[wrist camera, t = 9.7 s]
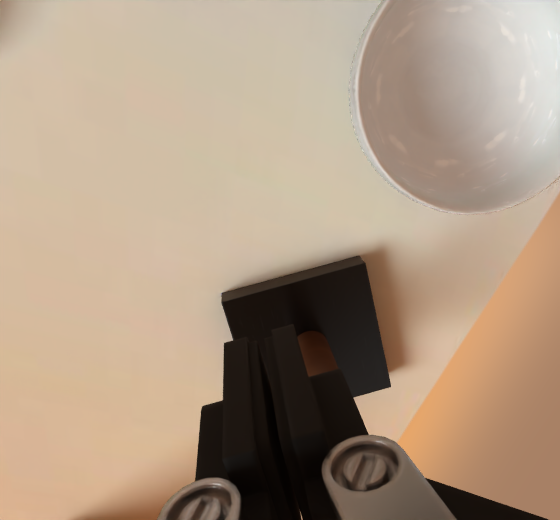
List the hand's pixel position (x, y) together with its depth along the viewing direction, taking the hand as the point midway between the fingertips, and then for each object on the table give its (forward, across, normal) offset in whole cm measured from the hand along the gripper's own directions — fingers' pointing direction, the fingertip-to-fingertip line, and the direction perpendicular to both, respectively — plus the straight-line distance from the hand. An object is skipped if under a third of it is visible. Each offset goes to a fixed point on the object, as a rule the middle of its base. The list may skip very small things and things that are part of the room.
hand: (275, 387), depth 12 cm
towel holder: (+21, +2, +14) cm, 25 cm away
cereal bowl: (+29, -17, -3) cm, 34 cm away
